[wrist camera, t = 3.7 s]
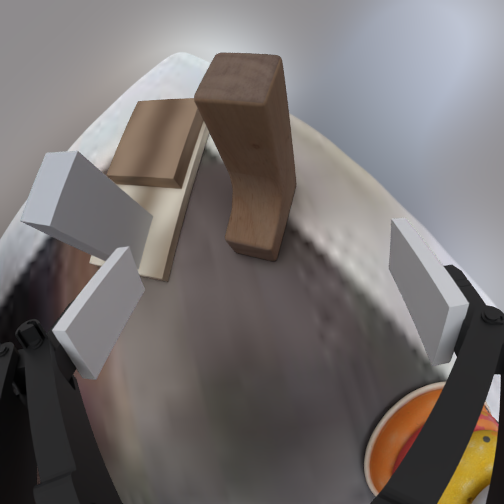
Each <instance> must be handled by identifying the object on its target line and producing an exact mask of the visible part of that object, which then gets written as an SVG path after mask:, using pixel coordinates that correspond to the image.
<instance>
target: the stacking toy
mask: <svg viewBox="0 0 504 504" xmlns="http://www.w3.org/2000/svg"><path fill="white" fill-rule="evenodd" d="M445 383H446V382H438V383H433V384H430V385H426V386H424V387H421V388H419V389H417V390H415V391H413V392H411V393H409V394H408V395H406V396H405V397H403V398H402V399H401V400H399V401H398V402H397V403H396V404H395V405H394V406H393V407H392V408H390V409H389V410H388V412H387V413H386V414H385V415H384V416H383V418H382V419H381V420H380V422H379V423H378V424H377V426H376V428H375V429H374V431H373V433H372V435H371V437H370V440H369V442H368V445H367V448H366V453H365V459H364V472H365V477H366V481H367V484H368V486H369V488H370V490H371V491H372V493H373V494H374V495H375V496H377V495H378V494H379V493H380V492H381V490H382V489H383V488H384V486H385V485H386V484H387V482H388V481H389V479H390V478H391V476H392V475H393V474H394V472H395V471H396V469H397V468H398V466H399V465H400V463H401V462H402V460H403V459H404V457H405V456H406V454H407V452H408V451H409V449H410V448H411V446H412V444H413V443H414V441H415V439H416V438H417V436H418V434H419V433H420V431H421V429H422V427H423V426H424V424H425V422H426V420H427V419H428V417H429V415H430V413H431V411H432V409H433V407H434V405H435V403H436V402H437V400H438V398H439V396H440V394H441V392H442V390H443V387H444V385H445ZM498 425H499V423H498V421H497V420H496V419H495V418H494V417H492V415H491V412H490V409H489V406H488V405H487V402H486V401H485V403H484V406H483V409H482V411H481V414H480V417H479V419H478V422H477V424H476V427H475V429H474V432H473V434H472V436H471V439H470V441H469V443H468V445H467V448H466V450H465V452H464V454H463V456H462V458H461V460H460V463H459V465H458V467H457V469H456V471H455V472H454V474H453V476H452V478H451V480H450V482H449V484H448V486H447V487H446V489H445V491H444V493H443V495H442V496H441V498H440V500H439V501H438V503H437V504H486V500H487V495H488V491H489V486H490V481H491V476H492V470H493V464H494V458H495V451H496V443H497V435H498Z"/></svg>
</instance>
